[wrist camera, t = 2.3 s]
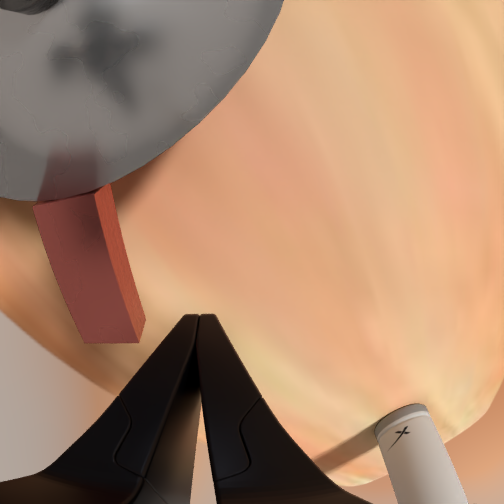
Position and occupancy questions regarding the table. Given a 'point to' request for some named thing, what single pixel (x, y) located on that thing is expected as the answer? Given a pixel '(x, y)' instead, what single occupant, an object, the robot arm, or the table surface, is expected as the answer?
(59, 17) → the lid
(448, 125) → the table surface
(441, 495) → the travel mug
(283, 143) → the table surface
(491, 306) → the table surface
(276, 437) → the robot arm
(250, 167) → the table surface
